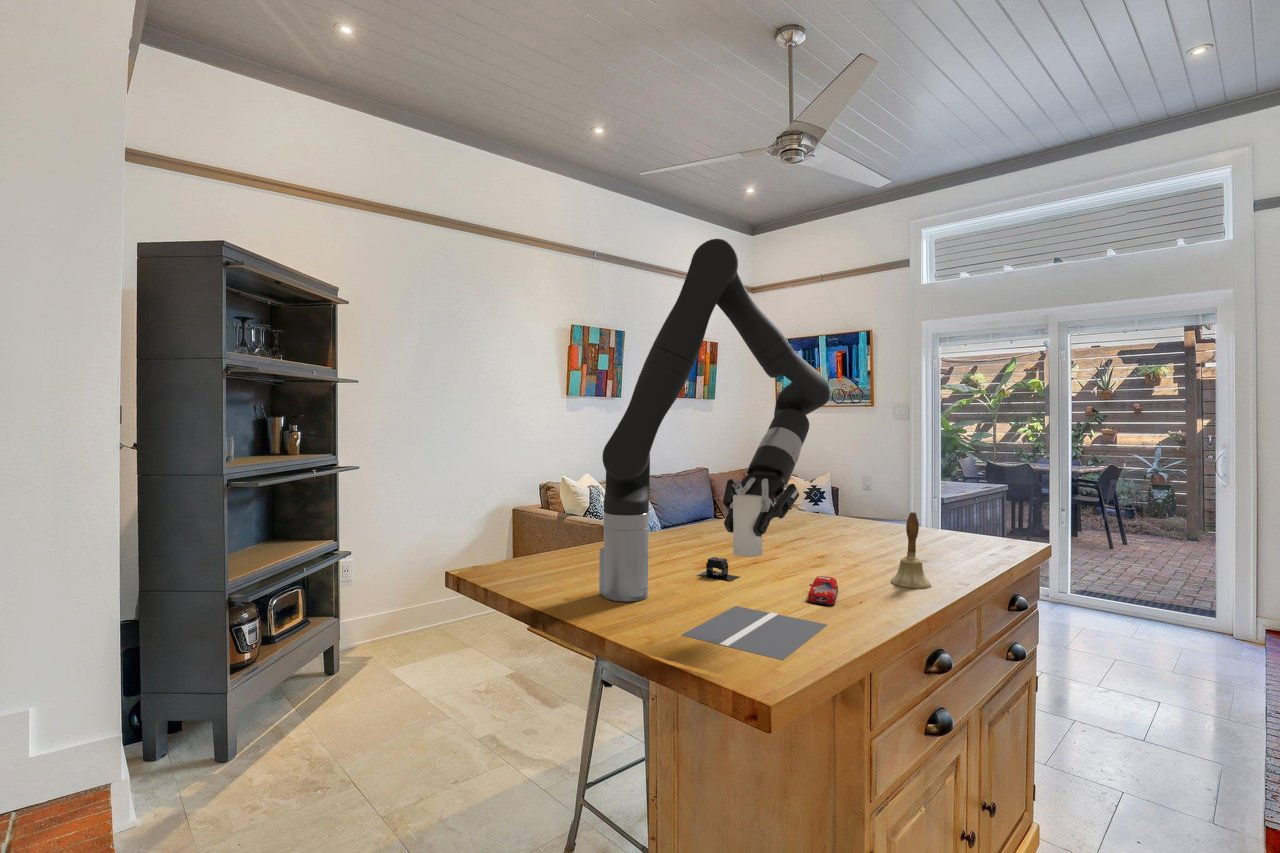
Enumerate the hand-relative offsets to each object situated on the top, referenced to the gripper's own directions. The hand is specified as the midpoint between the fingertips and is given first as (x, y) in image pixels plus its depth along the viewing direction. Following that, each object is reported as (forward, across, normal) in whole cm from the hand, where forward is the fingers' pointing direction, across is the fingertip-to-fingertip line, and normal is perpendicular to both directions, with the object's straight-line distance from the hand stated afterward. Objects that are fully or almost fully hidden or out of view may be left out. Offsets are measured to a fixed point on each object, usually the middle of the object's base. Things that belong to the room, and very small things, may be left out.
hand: (742, 531), depth 106 cm
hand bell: (-24, +12, +50) cm, 57 cm away
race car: (-8, +2, +34) cm, 35 cm away
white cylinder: (+2, 0, +4) cm, 5 cm away
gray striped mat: (+11, +2, +13) cm, 18 cm away
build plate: (-8, -24, +33) cm, 42 cm away
